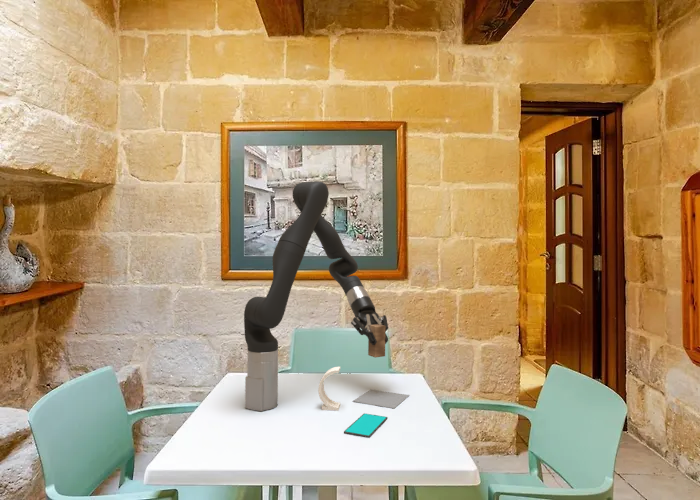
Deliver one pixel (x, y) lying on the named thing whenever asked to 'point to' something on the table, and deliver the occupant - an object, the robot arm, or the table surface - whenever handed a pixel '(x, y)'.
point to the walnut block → (379, 335)
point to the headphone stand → (325, 399)
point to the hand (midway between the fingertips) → (380, 342)
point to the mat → (381, 398)
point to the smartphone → (365, 425)
